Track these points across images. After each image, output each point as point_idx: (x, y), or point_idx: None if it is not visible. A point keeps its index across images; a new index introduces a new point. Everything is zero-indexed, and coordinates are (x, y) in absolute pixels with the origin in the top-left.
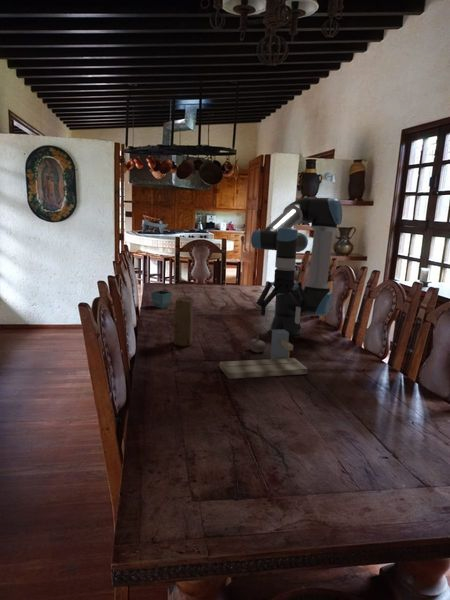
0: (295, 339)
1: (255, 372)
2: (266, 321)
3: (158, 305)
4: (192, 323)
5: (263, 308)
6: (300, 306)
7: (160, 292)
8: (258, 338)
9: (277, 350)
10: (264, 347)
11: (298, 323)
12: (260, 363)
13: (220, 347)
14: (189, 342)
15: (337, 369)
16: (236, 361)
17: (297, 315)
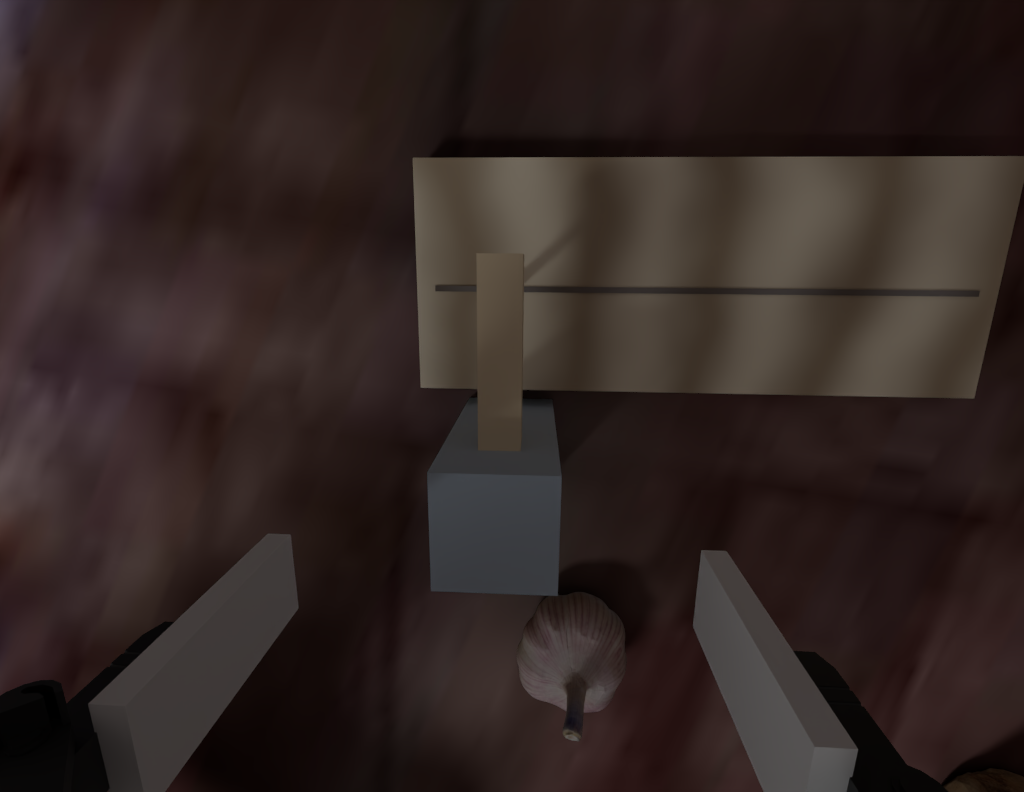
0: (253, 772)
1: (814, 158)
2: (718, 575)
3: None
4: None
5: (878, 763)
6: (71, 733)
7: None
8: (574, 690)
9: (541, 422)
10: (542, 611)
11: (276, 536)
12: (705, 317)
13: None
14: (980, 789)
15: (185, 217)
16: (854, 385)
17: (231, 624)
